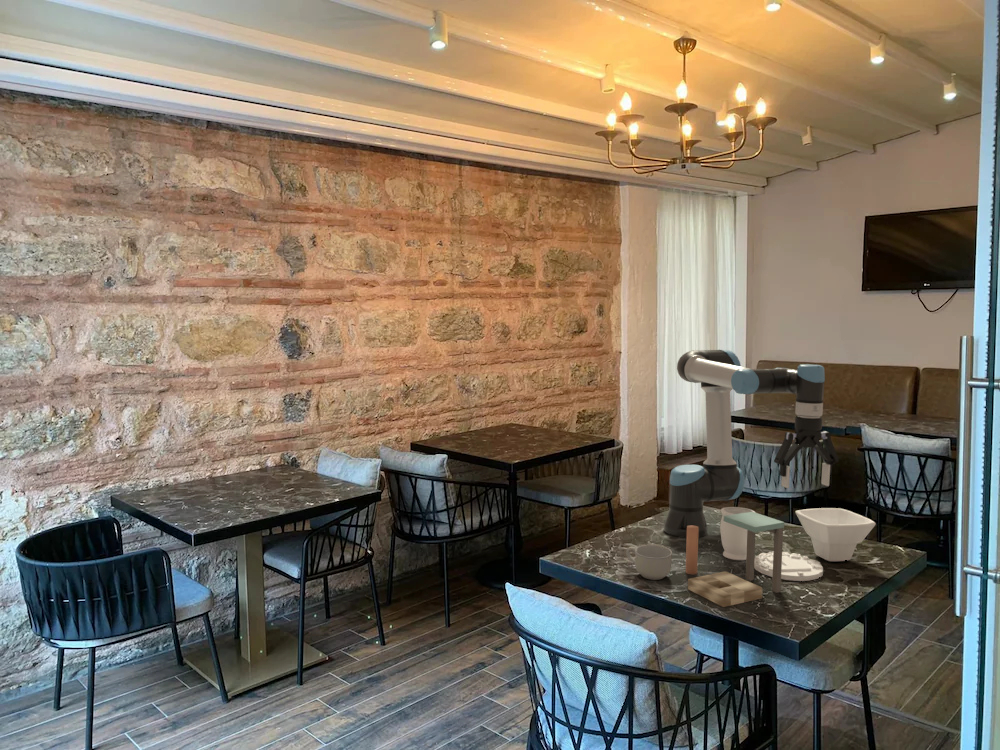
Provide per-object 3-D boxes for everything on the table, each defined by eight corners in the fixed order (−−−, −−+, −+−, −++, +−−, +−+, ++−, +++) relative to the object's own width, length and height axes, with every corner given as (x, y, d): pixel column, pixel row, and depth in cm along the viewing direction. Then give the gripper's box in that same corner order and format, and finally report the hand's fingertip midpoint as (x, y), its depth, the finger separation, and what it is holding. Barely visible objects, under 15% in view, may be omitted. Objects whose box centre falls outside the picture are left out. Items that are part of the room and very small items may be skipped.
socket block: (687, 589, 208) (688, 578, 208) (725, 581, 214) (725, 571, 214) (723, 607, 196) (723, 596, 195) (762, 598, 202) (762, 587, 202)
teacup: (678, 576, 218) (679, 550, 217) (657, 585, 211) (658, 558, 210) (639, 564, 228) (640, 539, 227) (618, 573, 221) (618, 547, 220)
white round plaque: (754, 579, 217) (755, 570, 217) (750, 557, 236) (751, 548, 236) (828, 586, 212) (828, 576, 212) (817, 563, 231) (818, 554, 231)
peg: (683, 571, 222) (684, 526, 221) (691, 569, 224) (693, 524, 223) (690, 575, 219) (692, 529, 218) (699, 573, 221) (701, 527, 220)
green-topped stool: (721, 583, 212) (723, 516, 211) (749, 577, 217) (752, 511, 216) (752, 598, 202) (755, 527, 200) (781, 591, 207) (784, 522, 205)
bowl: (825, 571, 223) (827, 526, 222) (788, 551, 242) (790, 509, 241) (879, 567, 227) (881, 523, 226) (838, 547, 246) (840, 506, 245)
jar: (719, 560, 233) (721, 513, 231) (719, 550, 243) (720, 505, 241) (755, 563, 230) (756, 516, 229) (753, 553, 240) (754, 507, 238)
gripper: (778, 419, 214) (775, 490, 216) (853, 417, 219) (849, 487, 221) (764, 415, 221) (761, 484, 223) (837, 413, 226) (833, 481, 228)
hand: (805, 486), depth 222 cm, fingers open, 13 cm apart
